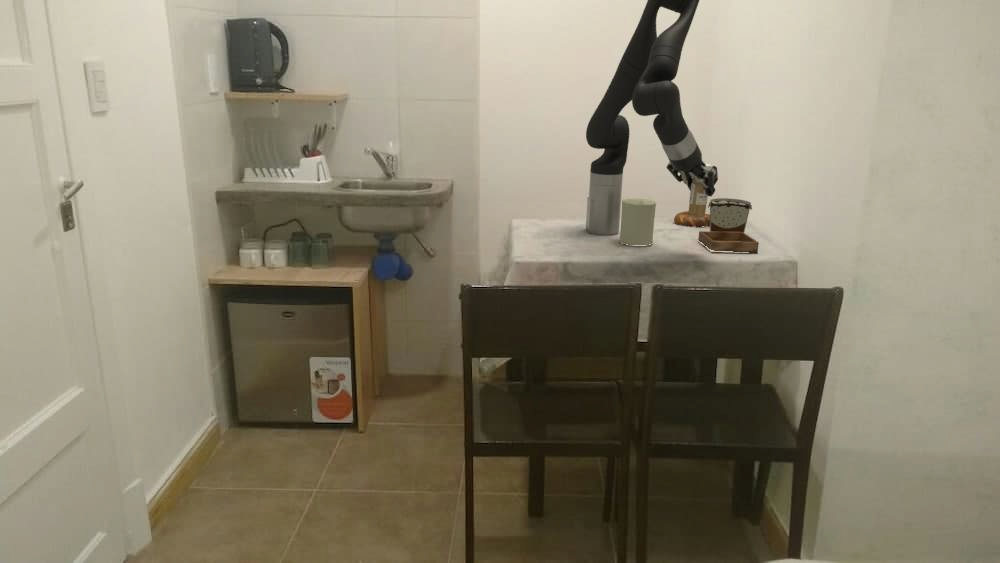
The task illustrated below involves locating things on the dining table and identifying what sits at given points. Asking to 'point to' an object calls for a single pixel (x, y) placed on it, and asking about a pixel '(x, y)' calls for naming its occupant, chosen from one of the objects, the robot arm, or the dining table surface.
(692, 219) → the pretzel
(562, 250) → the dining table surface
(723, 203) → the food container
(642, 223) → the can
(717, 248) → the box
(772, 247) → the dining table surface
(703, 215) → the sprinkles bottle
